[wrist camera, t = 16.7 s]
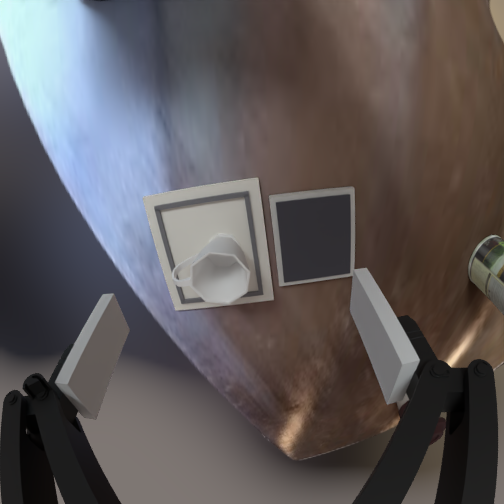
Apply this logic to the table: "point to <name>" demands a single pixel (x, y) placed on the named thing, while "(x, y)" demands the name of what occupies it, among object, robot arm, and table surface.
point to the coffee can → (489, 269)
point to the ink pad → (314, 234)
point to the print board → (210, 234)
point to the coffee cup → (440, 425)
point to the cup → (217, 271)
